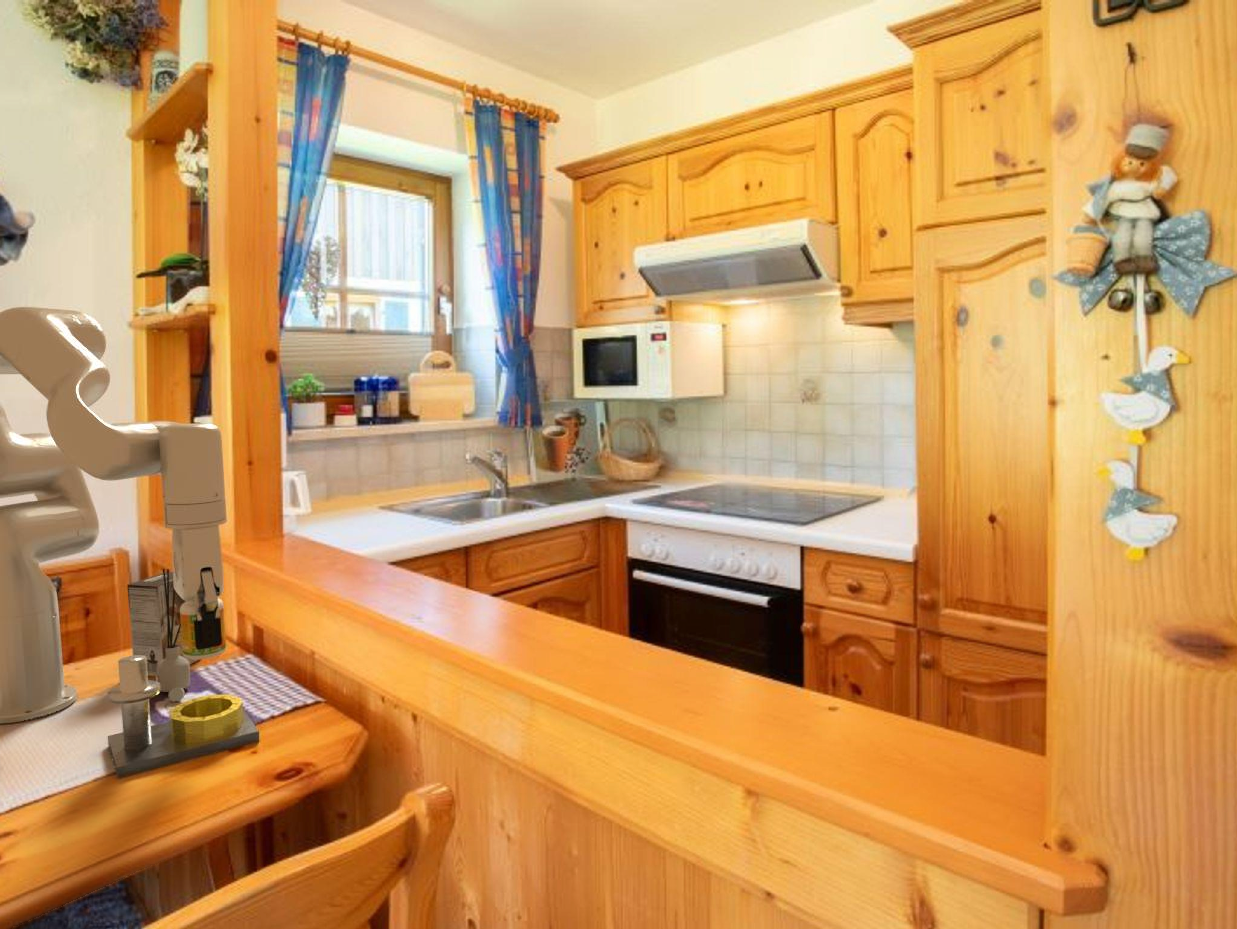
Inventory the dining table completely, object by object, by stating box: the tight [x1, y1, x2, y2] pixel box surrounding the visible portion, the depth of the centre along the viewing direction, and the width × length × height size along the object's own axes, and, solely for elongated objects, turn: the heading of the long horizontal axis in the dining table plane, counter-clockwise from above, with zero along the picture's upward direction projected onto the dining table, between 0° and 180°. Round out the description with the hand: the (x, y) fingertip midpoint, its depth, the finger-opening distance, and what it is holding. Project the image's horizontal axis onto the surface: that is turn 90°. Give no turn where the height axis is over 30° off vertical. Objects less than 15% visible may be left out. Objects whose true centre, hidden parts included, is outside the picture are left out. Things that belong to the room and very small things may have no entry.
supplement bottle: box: [180, 586, 227, 661], centre depth 110 cm, size 5×5×10 cm
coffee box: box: [126, 571, 199, 677], centre depth 138 cm, size 9×6×16 cm
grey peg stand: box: [107, 654, 260, 779], centre depth 109 cm, size 17×11×14 cm, turn 128°
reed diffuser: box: [155, 568, 191, 702], centre depth 127 cm, size 10×7×20 cm
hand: (204, 639), depth 110 cm, fingers closed on supplement bottle, 5 cm apart
